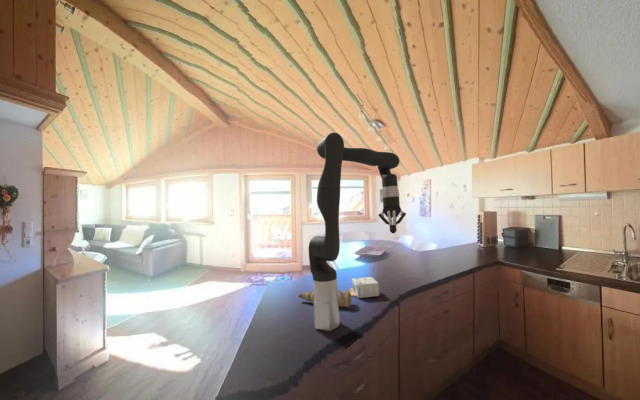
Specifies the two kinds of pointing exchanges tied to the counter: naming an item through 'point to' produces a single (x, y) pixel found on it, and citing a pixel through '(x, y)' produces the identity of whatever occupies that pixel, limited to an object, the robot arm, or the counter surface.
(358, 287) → the light bulb box
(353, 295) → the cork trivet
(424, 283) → the counter surface
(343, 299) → the decorative bottle
